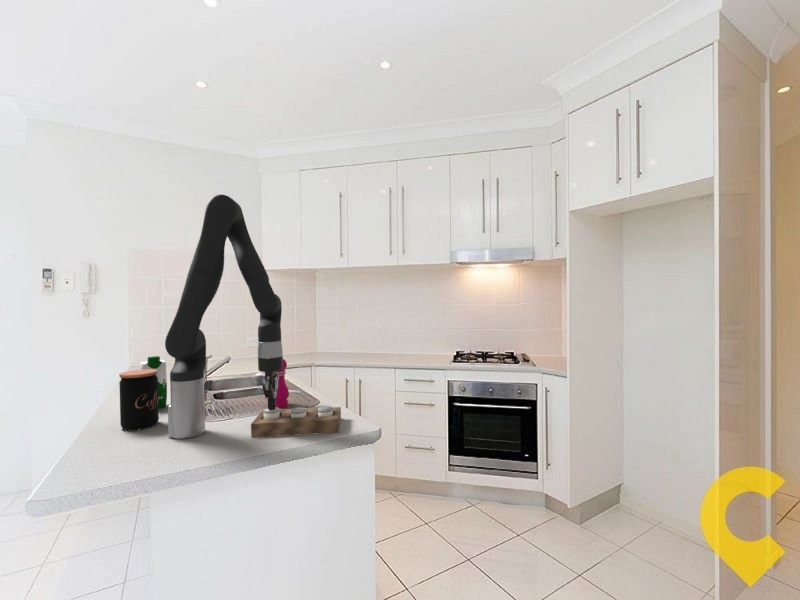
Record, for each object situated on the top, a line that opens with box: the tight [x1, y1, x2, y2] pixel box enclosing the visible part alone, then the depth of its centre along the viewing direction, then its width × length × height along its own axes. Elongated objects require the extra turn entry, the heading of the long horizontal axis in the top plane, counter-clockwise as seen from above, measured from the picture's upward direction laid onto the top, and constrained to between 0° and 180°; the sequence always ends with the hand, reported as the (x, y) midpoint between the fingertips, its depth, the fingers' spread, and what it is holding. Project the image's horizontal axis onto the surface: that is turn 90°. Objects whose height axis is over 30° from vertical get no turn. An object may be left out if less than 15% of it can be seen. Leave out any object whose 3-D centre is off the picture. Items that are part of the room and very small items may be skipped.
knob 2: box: [317, 405, 334, 417], centre depth 128 cm, size 5×5×5 cm
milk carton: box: [139, 355, 168, 410], centre depth 154 cm, size 9×9×20 cm
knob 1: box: [262, 407, 280, 419], centre depth 126 cm, size 5×5×5 cm
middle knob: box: [290, 407, 307, 418], centre depth 127 cm, size 5×5×5 cm
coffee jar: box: [118, 369, 160, 431], centre depth 131 cm, size 11×11×18 cm
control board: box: [250, 406, 342, 438], centre depth 127 cm, size 26×14×4 cm, turn 96°
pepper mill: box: [276, 358, 290, 409], centre depth 152 cm, size 7×7×20 cm
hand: (272, 409), depth 126 cm, fingers closed
